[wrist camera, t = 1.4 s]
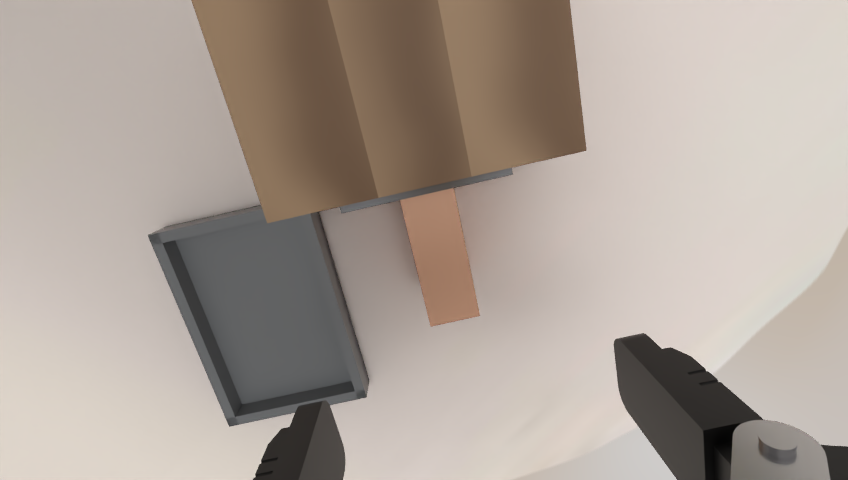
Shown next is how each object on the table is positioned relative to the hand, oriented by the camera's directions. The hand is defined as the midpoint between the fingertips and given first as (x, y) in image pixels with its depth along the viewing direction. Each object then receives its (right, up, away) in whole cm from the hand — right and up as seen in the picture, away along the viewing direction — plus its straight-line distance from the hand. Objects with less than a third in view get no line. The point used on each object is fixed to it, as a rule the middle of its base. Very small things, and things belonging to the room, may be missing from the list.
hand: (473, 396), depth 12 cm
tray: (-11, 0, +15) cm, 19 cm away
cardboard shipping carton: (-3, +14, +12) cm, 18 cm away
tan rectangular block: (-1, +7, +14) cm, 16 cm away
